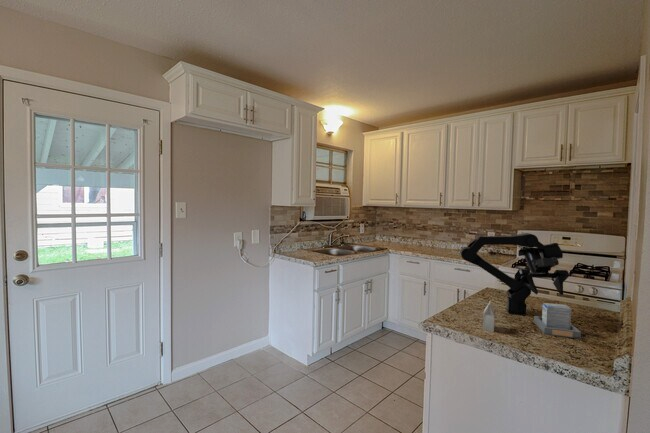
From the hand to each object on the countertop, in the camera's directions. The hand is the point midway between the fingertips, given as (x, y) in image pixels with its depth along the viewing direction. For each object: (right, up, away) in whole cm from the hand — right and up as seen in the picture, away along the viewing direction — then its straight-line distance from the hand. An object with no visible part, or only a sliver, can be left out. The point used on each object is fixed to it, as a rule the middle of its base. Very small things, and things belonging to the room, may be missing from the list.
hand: (549, 294), depth 124 cm
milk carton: (-25, -13, -3) cm, 28 cm away
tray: (0, -13, -4) cm, 13 cm away
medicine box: (0, -12, -3) cm, 13 cm away
